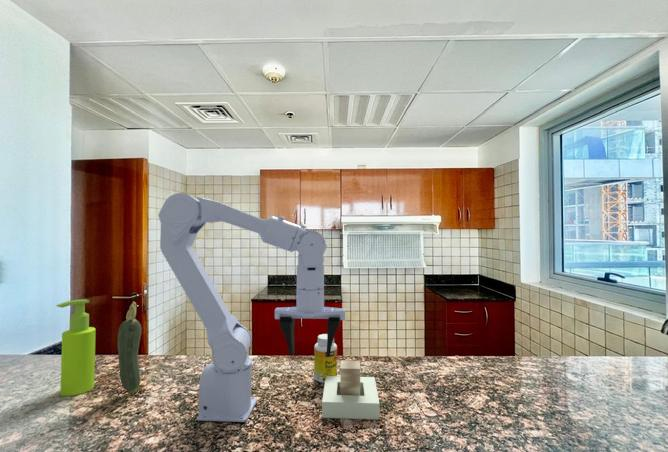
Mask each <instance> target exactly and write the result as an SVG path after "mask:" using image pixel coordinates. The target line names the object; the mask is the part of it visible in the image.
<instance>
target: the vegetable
mask: <svg viewBox="0 0 668 452" xmlns="http://www.w3.org/2000/svg"><path fill="white" fill-rule="evenodd" d="M136 316H137V302H135V301H134V300H133V301H132V303H131V304H130V306H129V309H128V310H127V312H126V316H125V319H126V320H124V321H123V322H122V323H121V324H120V325H119V328H118V331H117V332H118V333H117V352H118V354H117V355H118V357H117V358H118V367H119V368H118V369H119V371H118V372H119V378H120V382H121V385H122V389H124V390H125V391H126V392H127V393H129V394H132V393H137V392H138V390H139V389H140V383H141V376H140V375H141V374H140V365H139V348H140V342H141V339H142V338H141V337H142V324H141V323H140V321H139V320H137V319H136Z"/></svg>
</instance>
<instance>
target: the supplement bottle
mask: <svg viewBox="0 0 668 452" xmlns="http://www.w3.org/2000/svg"><path fill="white" fill-rule="evenodd" d="M313 348H314V349H313V350H314V351H313V353H314V355H313V357H314V358H313V361H314V362H313V363H314V364H313V368H314V369H313V378H314V380H315V381H316V382H318V383H323V384H325V379H326V376H338V375H337V374H338V345H337V344H336V343H335V338H334V339H333V342H332V346H331V353H330V356H327V333H322V334H318V336H317V342H316V343H315V344H314V347H313Z"/></svg>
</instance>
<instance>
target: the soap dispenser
mask: <svg viewBox="0 0 668 452" xmlns="http://www.w3.org/2000/svg"><path fill="white" fill-rule="evenodd" d="M89 303H90V300H89V299H86V298H83V299H73V300H68V301H64V302H61V303H58V304H57V305H56V307H57V308H65V307H68V306H74V313H73V314H71V315H70V316H69V329H67V330H65V331H63V332H62V333H61V359H60V360H61V361H60V362H61V364H60V367H61V368H60V395H61V396H63V397H71V396H72V397H73V396H77V395H81V394H84V393H87V392H88V391H91V390H92V389H93V388H94V387H95V367H96V366H95V365H96V363H95V362H96V334H97V333H96V328H95V327H94V326H90V314H89V313H87V312H85V311H86V309H85V306H86V305H85V304H89Z"/></svg>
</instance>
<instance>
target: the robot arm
mask: <svg viewBox="0 0 668 452" xmlns="http://www.w3.org/2000/svg"><path fill="white" fill-rule="evenodd" d="M158 219H159V222H160V241H159V243H160V245H159V248H160V251H161V253H162V255H163V257H164V259H165V260H166V262H167V264H168V266H169V267H170V269H171V270H172V273H174V275H175V277H176V279H177V281H178V283H179V284H180V286H181V287H182V289H183V291H184V293H185V295H186V296H187V298H188V299H189V302H190V304H192V307H193V309H194V311H195V312H196V313H197V315H198V317H199V319H200V320H201V322H202V324H203V325H204V327H205V329H206V339H207V344H208V345H209V347H210V349H211V359H212V363H209V364H207V365H206V366H204V368H203V370H202V372H201V374H200V378H199V382H198V415H197V417H196V421H201V422H202V421H204V422H234V423H235V422H236V423H237V422H238V423H244V422H247V420H248V419H249V417H250V415H251V413H252V411H253V409H254V408H255V406H256V404H257V402H258V398H257V397H252V372H253V371H252V370H253V369H252V362H253V361H252V358H251V357H250V356H249V353H248V352H249V349H250V347H251V345H252V341H253V337H252V333H251V331H250V330H249V328H247V327H245V326H244V325H242V324H241V323H240V322H239V320H238V318H237V317H236V316H235V315H234V314H232V313H231V312H230V311H229V309H228V307H227V306H226V304H225V302H224V300H223V299H222V296H221V295H220V293H219V292H218V289H217V287H216V286H215V285H214V283H213V280H211V277H210V276H209V274H208V272H207V271H206V269H205V267H204V265H203V264H202V262H201V261H200V258H199V257H198V255H197V254H196V252H195V249H194V248H193V244H194V243H195V240H196V237H197V235H198V233H199V232H200V230H201V229H202V228H203V227H204V226H205V225H206V223H209V224H214V223H220V222H223V223H226V224H230V225H232V226H235V227H238V228H241V229H244V230H246V231H250V232H253V233H257V234H258V235H259V237H260V239H261V241H262V242H263V243H265V244H267V245H270V246H274V247H276V248H279V249H282V250H285V251H288V252H291V253H292V252H295V251H297V253H298V254H297V266H296V306H290V307H289V306H288V307H287V306H286V307H275V309H274V319H275V320H279V323H278V325H279V328H280V331H281V332H282V333H283V336H284V338H285V341H286V345H287V348H288V355H289V356H293V355H294V353H295V321H296V319H304V320H305V319H308V320H309V319H312V320H316V319H317V320H318V319H319V320H321V319H322V320H323V319H324V320H326V319H327V321H326V322H327V323H326V330H327V333H326V334H327V356H330V353H331V346H332V342H333V339H334V340H335V336H336V333H337V331H338V329H339V326H340V324H341V321H345V320H346V308H344V307H343V308H342V307H341V308H340V307H330V306H325V266H324V260H325V259H324V254H325V252H326V250H327V244H326V240H325V238H324V236H323V235H322V234H321V233H320V232H319V231H317V230H316V231H315V230H312V229H307V225H305V224H301V225H299V224H296V223H293V222H290V221H288V220H285V216H282V215H278V217H277V216H274V215H272V216H269V217H267V218H265V219H263V218H261V217H258V216H256V215H253V214H251V213H248V212H245V211H243V210H240V209H238V208H236V207H233V206H230V205H228V204H226V203H223V202H220V201H216V200H213V199H208V198H204V197H199V196H196V197H193V196H192V195H190V194H188V193H183V192H178V193H173V194H171V195H170V196H168V197H167V198H166V200H165V201H164V203H163V205H162V207H161V209H160V211H159V213H158ZM306 229H307V230H306Z"/></svg>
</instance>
